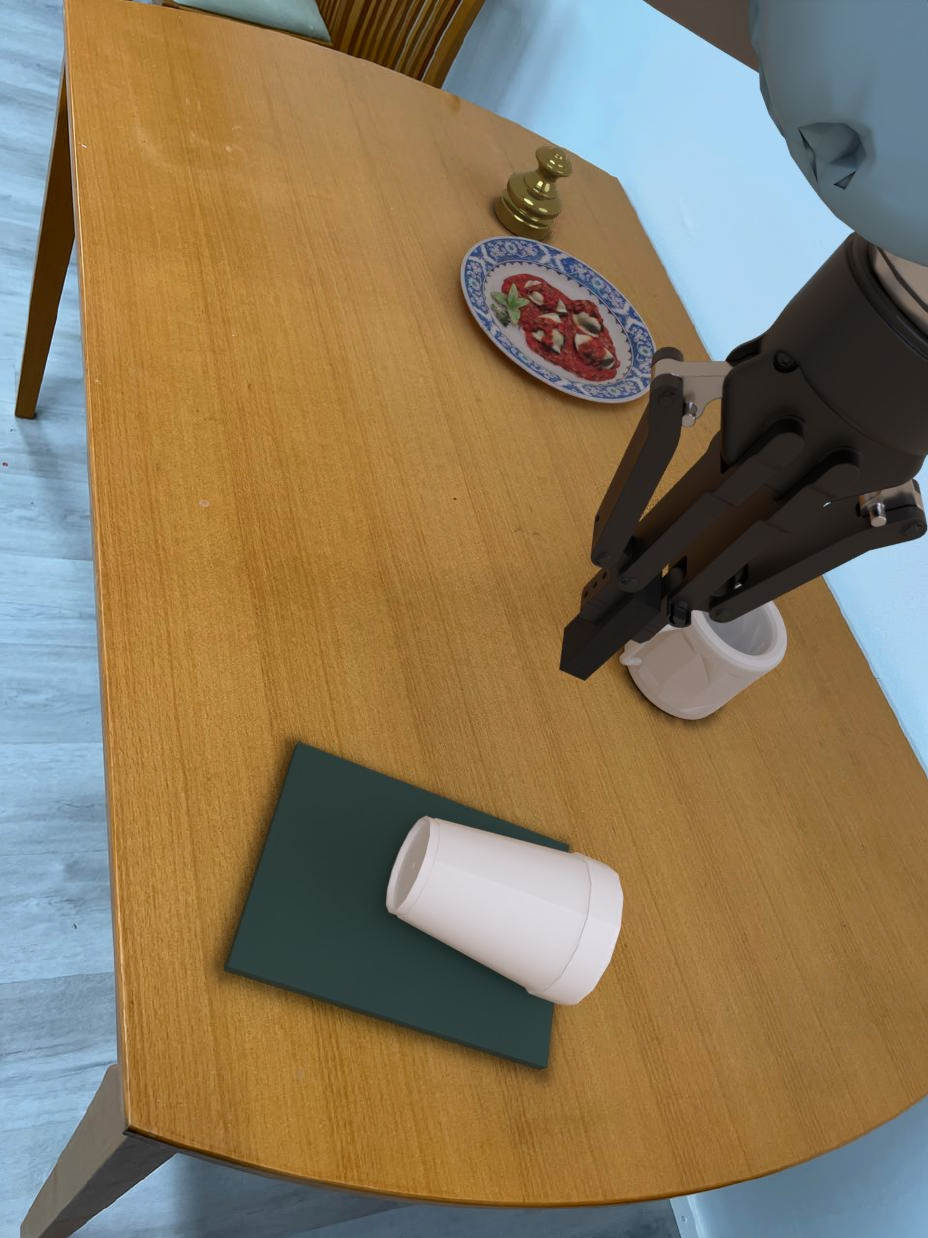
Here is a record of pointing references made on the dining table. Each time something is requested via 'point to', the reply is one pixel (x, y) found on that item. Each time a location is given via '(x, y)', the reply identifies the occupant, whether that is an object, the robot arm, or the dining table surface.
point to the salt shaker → (534, 195)
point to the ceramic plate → (558, 319)
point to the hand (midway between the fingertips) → (574, 653)
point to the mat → (373, 914)
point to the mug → (706, 660)
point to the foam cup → (510, 905)
